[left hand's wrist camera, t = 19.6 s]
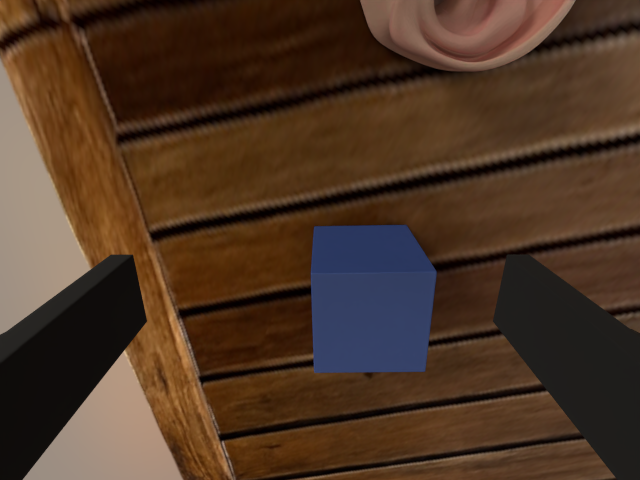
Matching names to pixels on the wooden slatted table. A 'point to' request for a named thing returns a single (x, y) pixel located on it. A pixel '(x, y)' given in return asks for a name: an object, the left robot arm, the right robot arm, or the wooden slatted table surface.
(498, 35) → the anatomical model
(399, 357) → the block
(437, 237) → the wooden slatted table surface
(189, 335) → the wooden slatted table surface
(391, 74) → the wooden slatted table surface
